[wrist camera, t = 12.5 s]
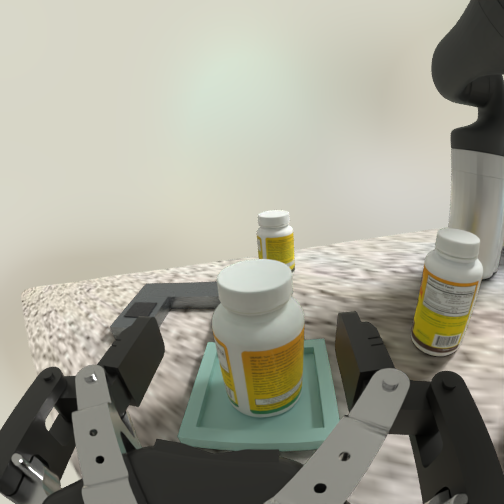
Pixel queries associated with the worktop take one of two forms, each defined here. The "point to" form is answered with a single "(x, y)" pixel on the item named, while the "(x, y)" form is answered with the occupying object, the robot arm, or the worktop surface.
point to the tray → (265, 428)
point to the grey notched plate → (166, 301)
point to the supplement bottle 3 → (447, 292)
